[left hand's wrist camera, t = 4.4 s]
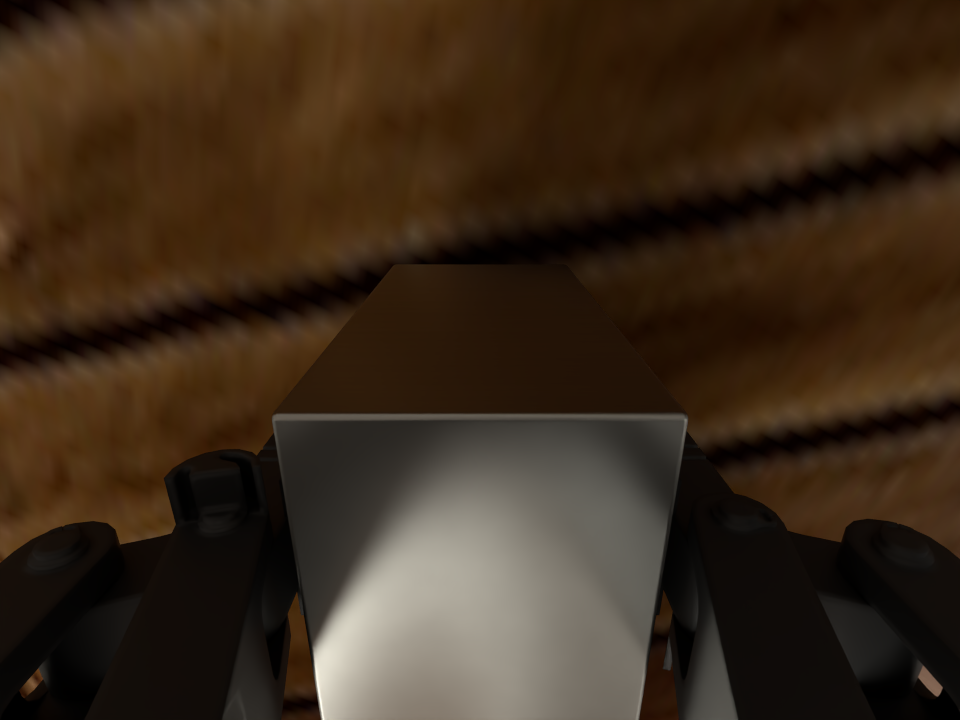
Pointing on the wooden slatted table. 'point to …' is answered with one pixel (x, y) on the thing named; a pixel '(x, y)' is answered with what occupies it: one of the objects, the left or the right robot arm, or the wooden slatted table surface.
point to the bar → (480, 501)
